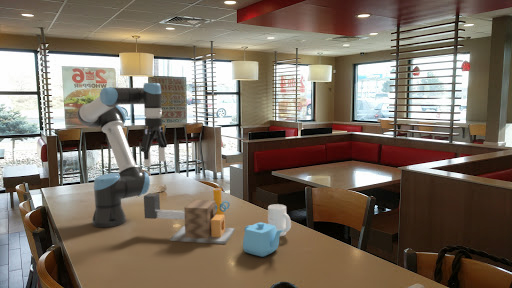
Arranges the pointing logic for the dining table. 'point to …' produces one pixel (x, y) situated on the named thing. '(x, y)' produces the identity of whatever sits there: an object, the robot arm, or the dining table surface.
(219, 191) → the cylinder
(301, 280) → the dining table surface
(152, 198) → the grey mallet
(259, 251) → the teapot
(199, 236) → the block
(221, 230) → the block
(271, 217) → the mug
